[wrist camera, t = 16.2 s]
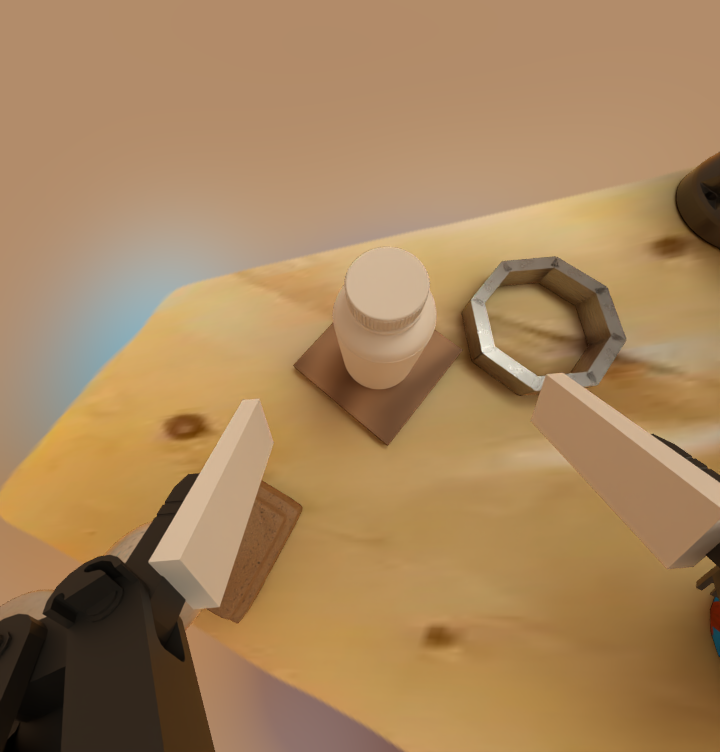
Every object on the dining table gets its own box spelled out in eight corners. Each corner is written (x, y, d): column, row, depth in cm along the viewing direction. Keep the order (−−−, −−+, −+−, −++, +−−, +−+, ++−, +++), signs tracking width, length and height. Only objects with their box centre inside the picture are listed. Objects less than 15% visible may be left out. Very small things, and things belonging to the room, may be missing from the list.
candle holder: (305, 506, 28) (17, 806, 5) (247, 614, 26) (-840, 2183, 3) (221, 455, 29) (-307, 499, 6) (159, 553, 27) (-1035, 1190, 4)
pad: (459, 353, 32) (462, 349, 31) (387, 445, 29) (387, 445, 28) (369, 288, 34) (369, 283, 33) (295, 368, 32) (293, 365, 31)
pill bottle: (329, 364, 31) (297, 292, 16) (371, 314, 32) (376, 206, 18) (385, 406, 29) (404, 368, 15) (425, 351, 31) (480, 268, 16)
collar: (620, 322, 32) (645, 310, 30) (555, 421, 30) (575, 419, 27) (509, 253, 35) (522, 236, 32) (440, 338, 32) (447, 328, 29)
